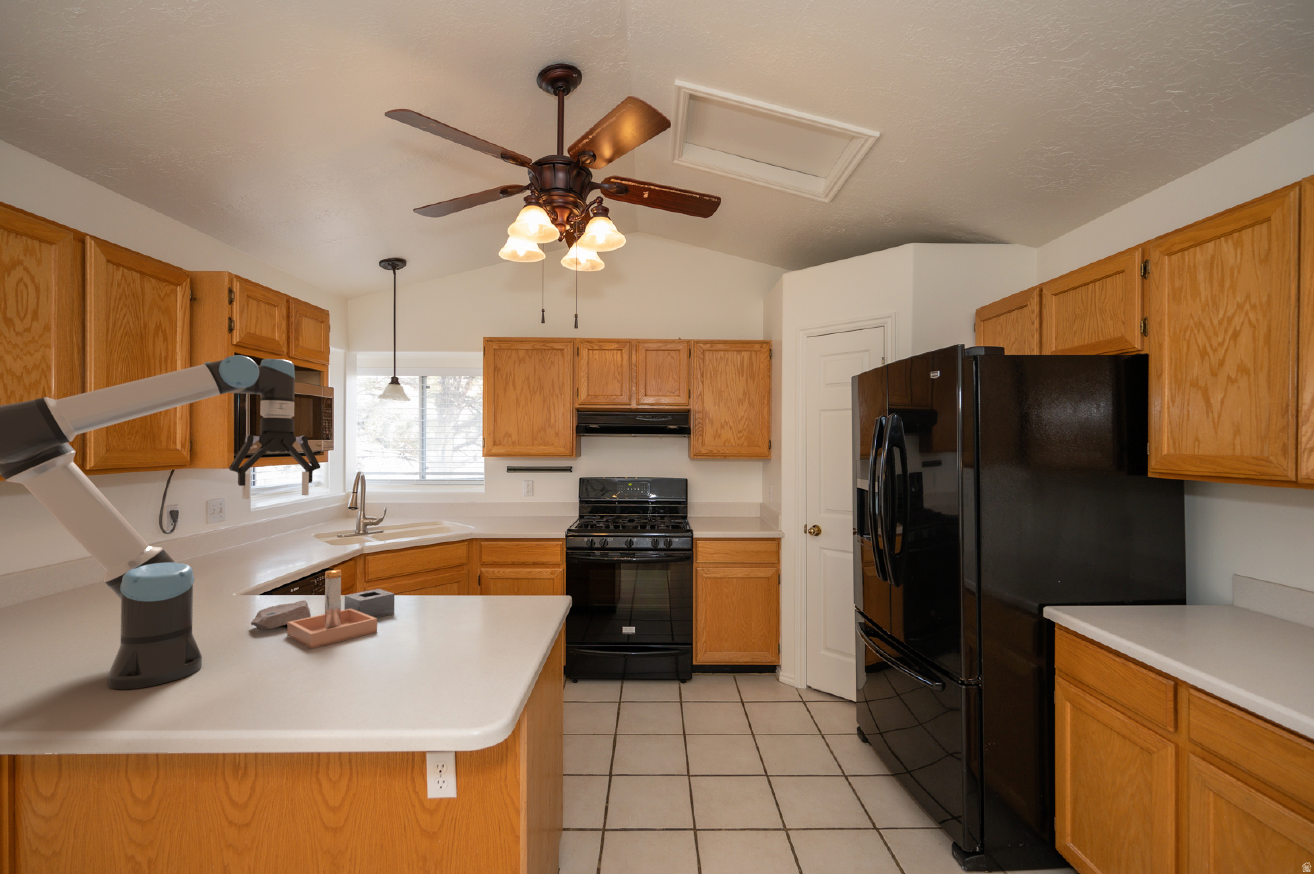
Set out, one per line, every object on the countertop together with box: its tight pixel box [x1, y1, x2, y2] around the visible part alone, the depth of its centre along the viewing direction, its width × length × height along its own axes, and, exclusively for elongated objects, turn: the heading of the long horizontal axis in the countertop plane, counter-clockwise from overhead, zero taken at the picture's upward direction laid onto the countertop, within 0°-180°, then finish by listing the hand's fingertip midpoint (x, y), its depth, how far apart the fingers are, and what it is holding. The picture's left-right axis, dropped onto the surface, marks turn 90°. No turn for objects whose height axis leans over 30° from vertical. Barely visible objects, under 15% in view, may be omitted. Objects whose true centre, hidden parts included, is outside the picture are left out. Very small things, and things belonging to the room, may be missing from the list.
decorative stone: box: [250, 599, 312, 630], centre depth 153 cm, size 13×10×6 cm
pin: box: [324, 569, 342, 630], centre depth 147 cm, size 4×4×16 cm
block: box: [343, 588, 395, 619], centre depth 164 cm, size 10×10×6 cm
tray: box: [286, 608, 378, 649], centre depth 146 cm, size 16×16×4 cm
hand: (276, 496), depth 146 cm, fingers open, 13 cm apart
